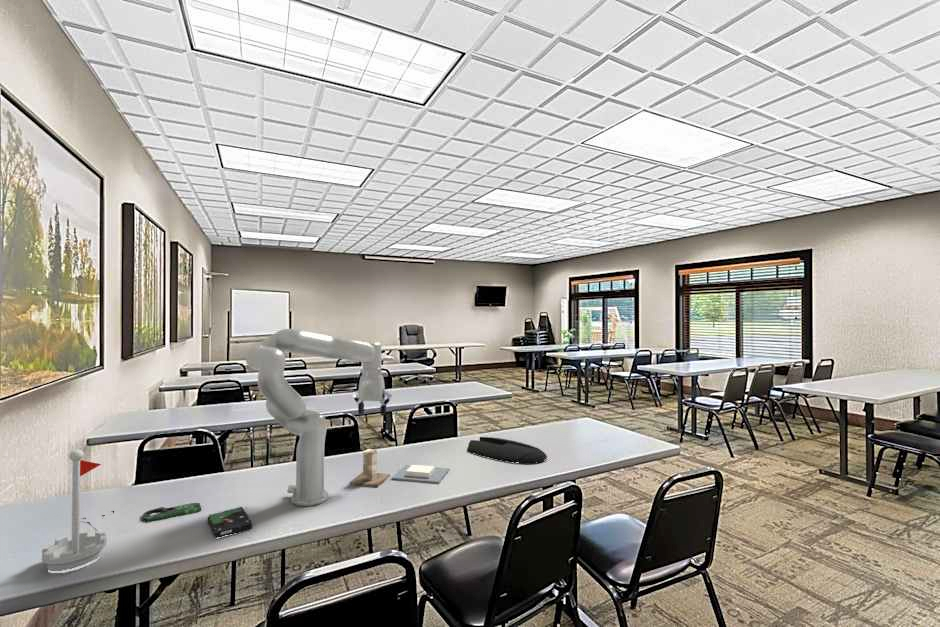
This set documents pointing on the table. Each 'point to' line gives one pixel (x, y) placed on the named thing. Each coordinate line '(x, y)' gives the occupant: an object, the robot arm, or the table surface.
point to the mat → (434, 478)
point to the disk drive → (229, 522)
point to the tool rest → (374, 482)
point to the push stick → (369, 464)
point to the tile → (420, 471)
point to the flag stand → (75, 529)
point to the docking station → (506, 450)
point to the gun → (171, 512)
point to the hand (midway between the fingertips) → (372, 414)
